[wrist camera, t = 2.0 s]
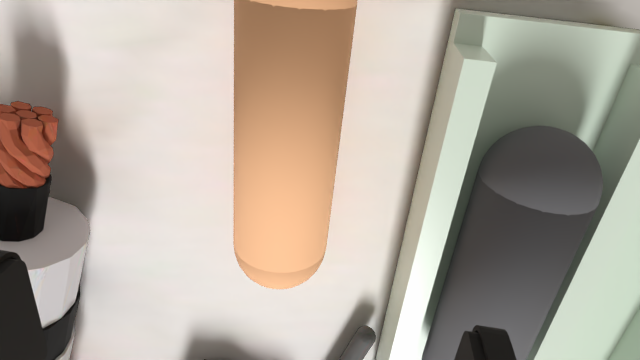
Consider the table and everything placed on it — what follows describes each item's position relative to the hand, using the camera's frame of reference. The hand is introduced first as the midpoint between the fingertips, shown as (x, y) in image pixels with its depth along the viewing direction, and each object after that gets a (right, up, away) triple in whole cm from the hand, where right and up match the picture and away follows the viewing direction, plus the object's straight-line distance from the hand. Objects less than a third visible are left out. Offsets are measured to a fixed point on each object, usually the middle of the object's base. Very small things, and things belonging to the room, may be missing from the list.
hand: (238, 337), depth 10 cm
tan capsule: (+1, +5, +8) cm, 9 cm away
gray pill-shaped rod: (+9, -1, +9) cm, 13 cm away
